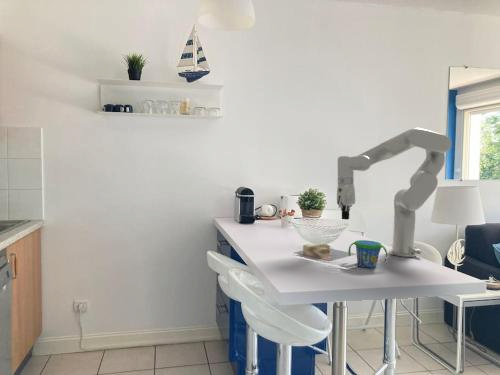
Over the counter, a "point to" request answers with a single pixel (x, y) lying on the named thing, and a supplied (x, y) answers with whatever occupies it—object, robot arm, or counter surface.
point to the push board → (330, 255)
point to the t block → (317, 250)
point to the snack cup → (367, 252)
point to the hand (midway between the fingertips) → (345, 219)
